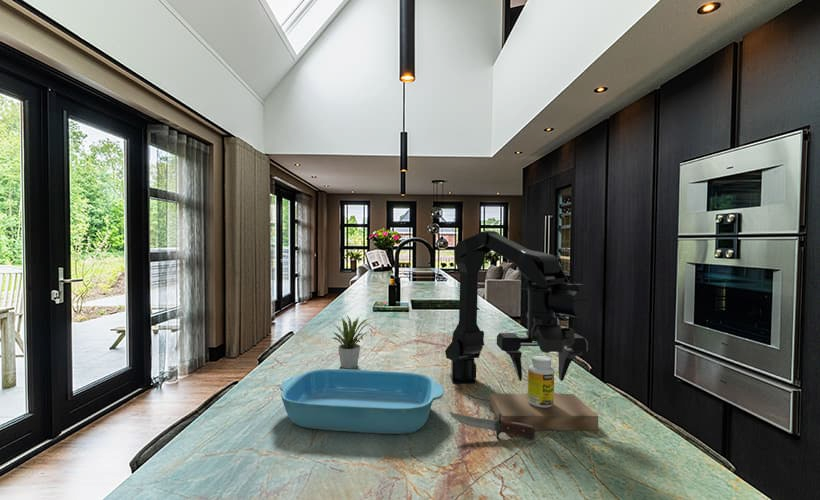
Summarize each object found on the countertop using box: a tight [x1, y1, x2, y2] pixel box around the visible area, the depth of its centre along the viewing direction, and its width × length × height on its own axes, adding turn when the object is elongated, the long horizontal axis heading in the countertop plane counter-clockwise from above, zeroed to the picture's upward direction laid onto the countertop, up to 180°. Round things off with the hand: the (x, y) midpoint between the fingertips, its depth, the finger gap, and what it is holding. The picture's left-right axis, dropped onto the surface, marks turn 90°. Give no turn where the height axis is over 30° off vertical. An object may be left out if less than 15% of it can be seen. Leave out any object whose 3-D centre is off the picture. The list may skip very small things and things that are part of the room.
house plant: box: [328, 314, 373, 369], centre depth 121 cm, size 14×14×16 cm
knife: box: [448, 411, 536, 440], centre depth 76 cm, size 17×1×5 cm, turn 87°
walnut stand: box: [489, 392, 599, 431], centre depth 85 cm, size 20×12×3 cm, turn 90°
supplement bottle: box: [527, 355, 555, 408], centre depth 85 cm, size 6×6×10 cm
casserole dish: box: [279, 368, 444, 435], centre depth 86 cm, size 37×22×7 cm, turn 85°
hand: (540, 380), depth 85 cm, fingers open, 9 cm apart
